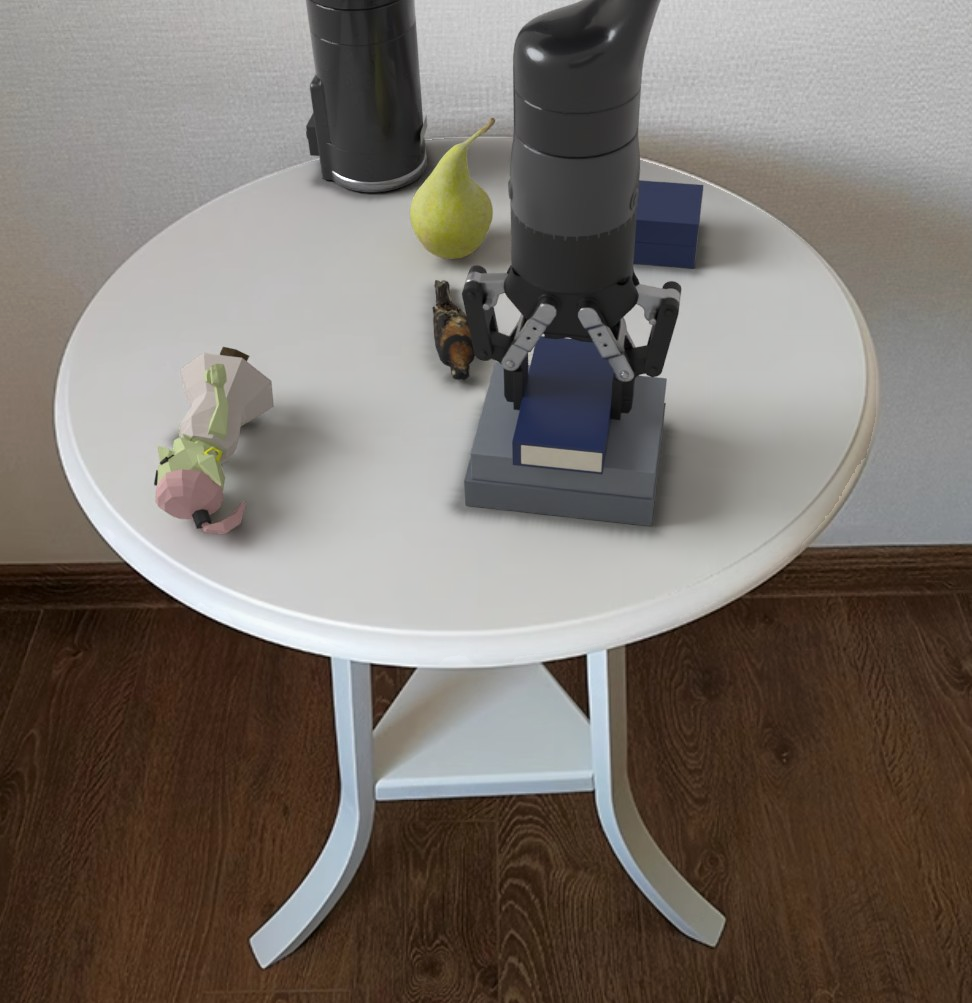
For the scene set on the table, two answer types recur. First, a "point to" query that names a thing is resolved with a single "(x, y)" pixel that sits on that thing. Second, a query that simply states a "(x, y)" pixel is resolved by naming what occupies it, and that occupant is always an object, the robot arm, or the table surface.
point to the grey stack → (568, 493)
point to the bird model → (451, 333)
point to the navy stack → (667, 223)
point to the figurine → (210, 436)
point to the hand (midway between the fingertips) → (568, 406)
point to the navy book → (565, 408)
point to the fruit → (452, 206)
